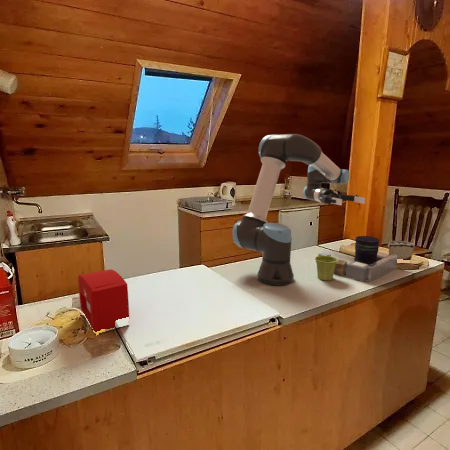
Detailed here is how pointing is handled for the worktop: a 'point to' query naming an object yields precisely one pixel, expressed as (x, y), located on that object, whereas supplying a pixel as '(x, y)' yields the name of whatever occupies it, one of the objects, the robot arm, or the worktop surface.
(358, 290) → the worktop surface
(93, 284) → the fire alarm
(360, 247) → the rusty oil drum
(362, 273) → the module block
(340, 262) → the walnut block
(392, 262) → the rail
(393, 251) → the food container
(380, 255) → the block
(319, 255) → the bluegrey block
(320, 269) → the plant pot
